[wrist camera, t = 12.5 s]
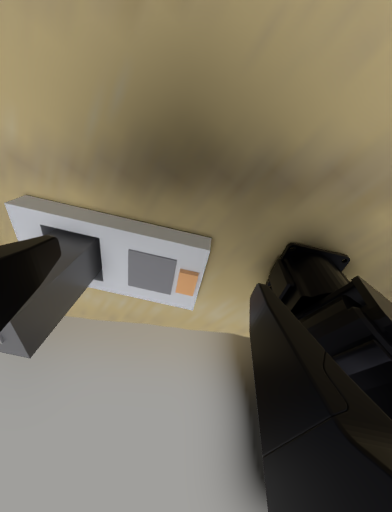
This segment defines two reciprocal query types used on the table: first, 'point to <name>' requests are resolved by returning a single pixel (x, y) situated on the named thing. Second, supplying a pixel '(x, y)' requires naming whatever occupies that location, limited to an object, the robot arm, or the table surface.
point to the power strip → (124, 250)
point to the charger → (53, 294)
